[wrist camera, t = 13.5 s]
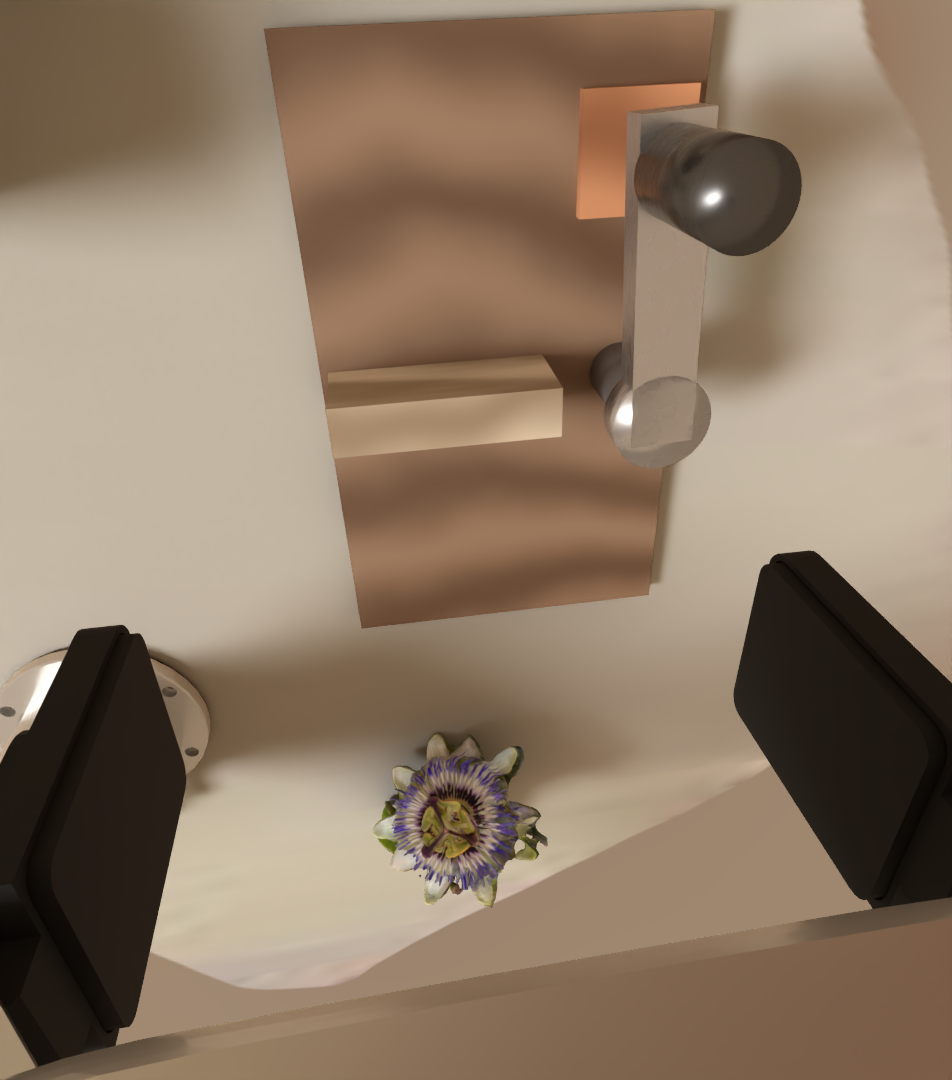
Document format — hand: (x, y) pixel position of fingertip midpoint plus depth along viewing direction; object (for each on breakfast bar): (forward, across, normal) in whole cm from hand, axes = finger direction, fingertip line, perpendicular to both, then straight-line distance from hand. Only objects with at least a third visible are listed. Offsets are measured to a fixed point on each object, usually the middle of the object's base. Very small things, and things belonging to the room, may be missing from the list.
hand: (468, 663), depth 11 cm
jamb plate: (+28, -6, +5) cm, 29 cm away
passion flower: (+29, -2, +36) cm, 47 cm away
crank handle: (+22, -11, 0) cm, 24 cm away
